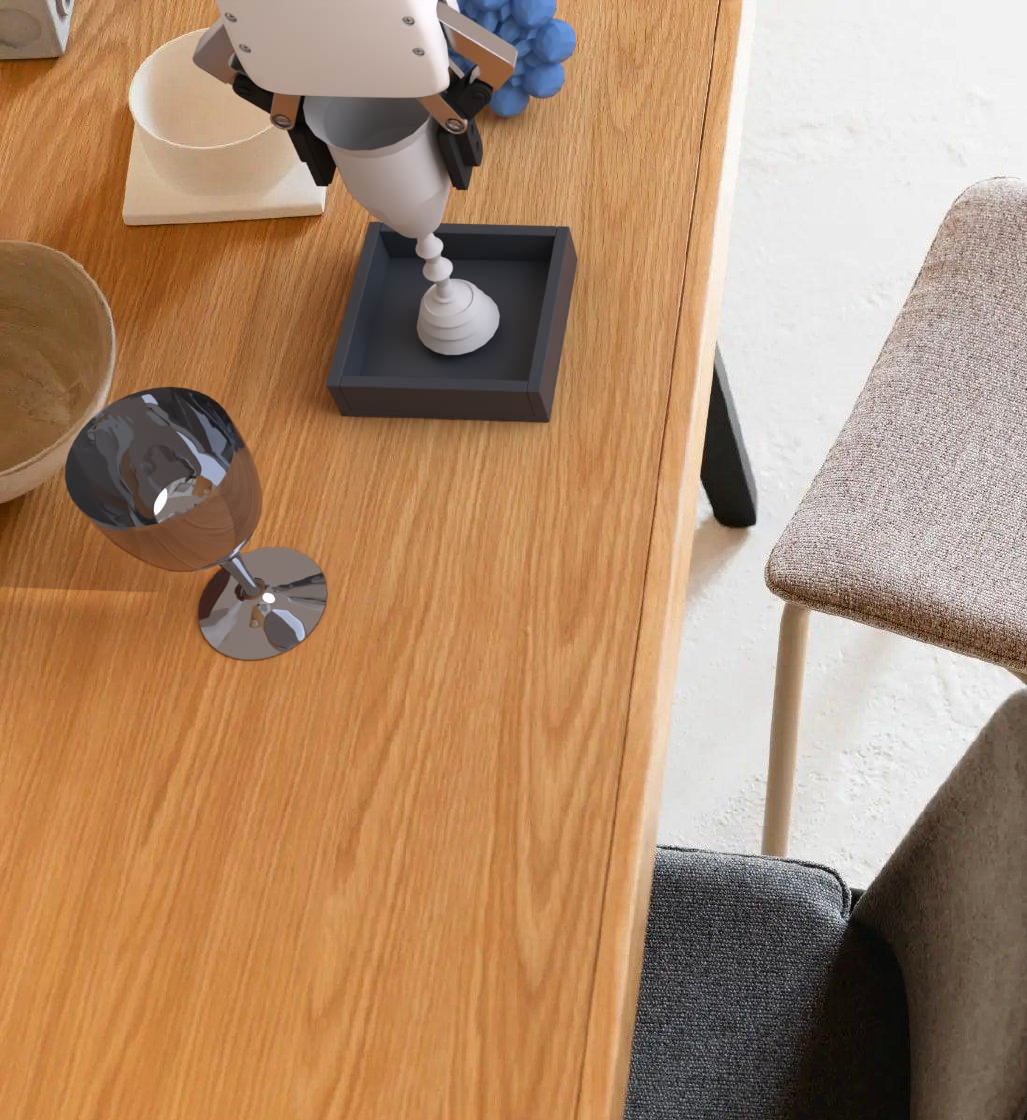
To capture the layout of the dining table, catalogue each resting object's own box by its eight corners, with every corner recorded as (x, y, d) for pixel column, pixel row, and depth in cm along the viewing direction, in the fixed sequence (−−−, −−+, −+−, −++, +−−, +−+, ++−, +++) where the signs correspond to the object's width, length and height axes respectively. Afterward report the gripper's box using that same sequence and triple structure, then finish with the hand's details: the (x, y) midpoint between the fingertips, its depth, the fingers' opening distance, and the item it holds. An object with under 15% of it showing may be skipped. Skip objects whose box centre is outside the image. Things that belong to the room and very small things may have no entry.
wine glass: (267, 692, 81) (151, 556, 68) (160, 624, 83) (27, 479, 70) (364, 581, 84) (271, 431, 71) (258, 518, 86) (149, 361, 73)
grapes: (601, 70, 104) (571, -79, 93) (587, 142, 100) (555, -5, 90) (434, 66, 104) (386, -83, 94) (416, 137, 101) (364, -9, 90)
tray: (341, 416, 90) (324, 385, 87) (382, 254, 96) (368, 220, 93) (549, 422, 89) (539, 392, 86) (578, 259, 95) (569, 225, 93)
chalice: (517, 361, 90) (440, 141, 74) (403, 377, 89) (302, 159, 74) (510, 267, 93) (435, 38, 77) (401, 283, 93) (303, 56, 77)
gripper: (498, -181, 66) (568, 121, 81) (111, -187, 67) (255, 114, 82) (469, -68, 62) (549, 226, 78) (60, -75, 63) (221, 218, 78)
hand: (397, 166), depth 80 cm, fingers closed on chalice, 6 cm apart
